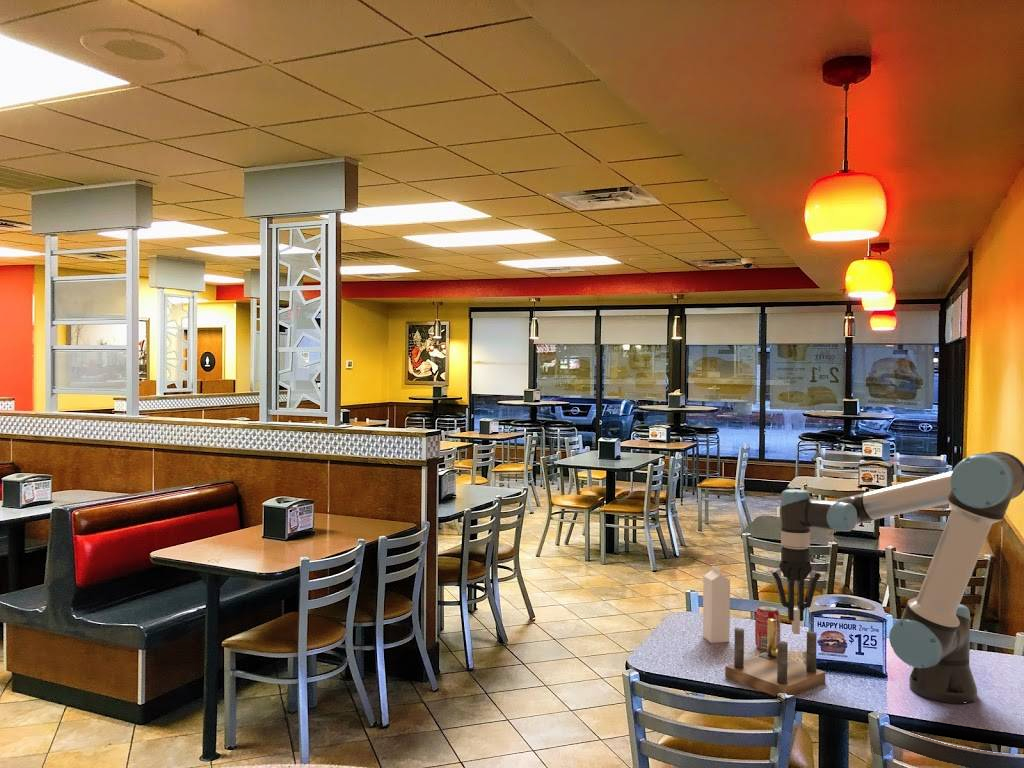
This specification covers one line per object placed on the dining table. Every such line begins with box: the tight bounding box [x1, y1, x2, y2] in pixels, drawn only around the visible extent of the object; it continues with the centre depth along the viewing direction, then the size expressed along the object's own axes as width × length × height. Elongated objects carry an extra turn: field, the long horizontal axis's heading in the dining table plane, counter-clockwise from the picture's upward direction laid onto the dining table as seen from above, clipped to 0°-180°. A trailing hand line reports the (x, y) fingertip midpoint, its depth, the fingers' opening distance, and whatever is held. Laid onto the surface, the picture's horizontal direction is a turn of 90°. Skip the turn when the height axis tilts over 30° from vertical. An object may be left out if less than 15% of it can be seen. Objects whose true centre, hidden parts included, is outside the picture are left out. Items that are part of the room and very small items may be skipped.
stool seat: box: [724, 627, 826, 697], centre depth 206 cm, size 18×18×13 cm
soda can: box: [754, 604, 781, 651], centre depth 231 cm, size 7×7×12 cm
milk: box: [702, 565, 731, 644], centre depth 238 cm, size 6×6×22 cm
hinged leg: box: [766, 618, 777, 657], centre depth 214 cm, size 5×2×9 cm, turn 21°
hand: (795, 632), depth 214 cm, fingers closed
